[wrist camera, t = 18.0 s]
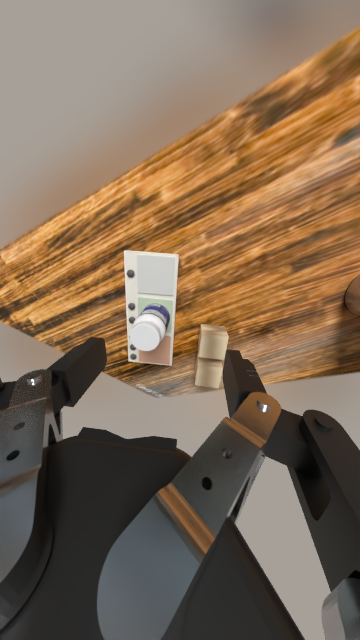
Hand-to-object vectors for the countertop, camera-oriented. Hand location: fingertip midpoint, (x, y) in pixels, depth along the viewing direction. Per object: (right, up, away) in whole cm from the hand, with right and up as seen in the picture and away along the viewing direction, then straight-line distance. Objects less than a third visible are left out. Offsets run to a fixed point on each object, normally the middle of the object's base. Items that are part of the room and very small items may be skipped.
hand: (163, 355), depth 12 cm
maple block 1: (+8, -1, +27) cm, 28 cm away
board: (-5, +4, +26) cm, 27 cm away
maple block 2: (+7, -7, +30) cm, 32 cm away
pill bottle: (-4, +3, +25) cm, 26 cm away
